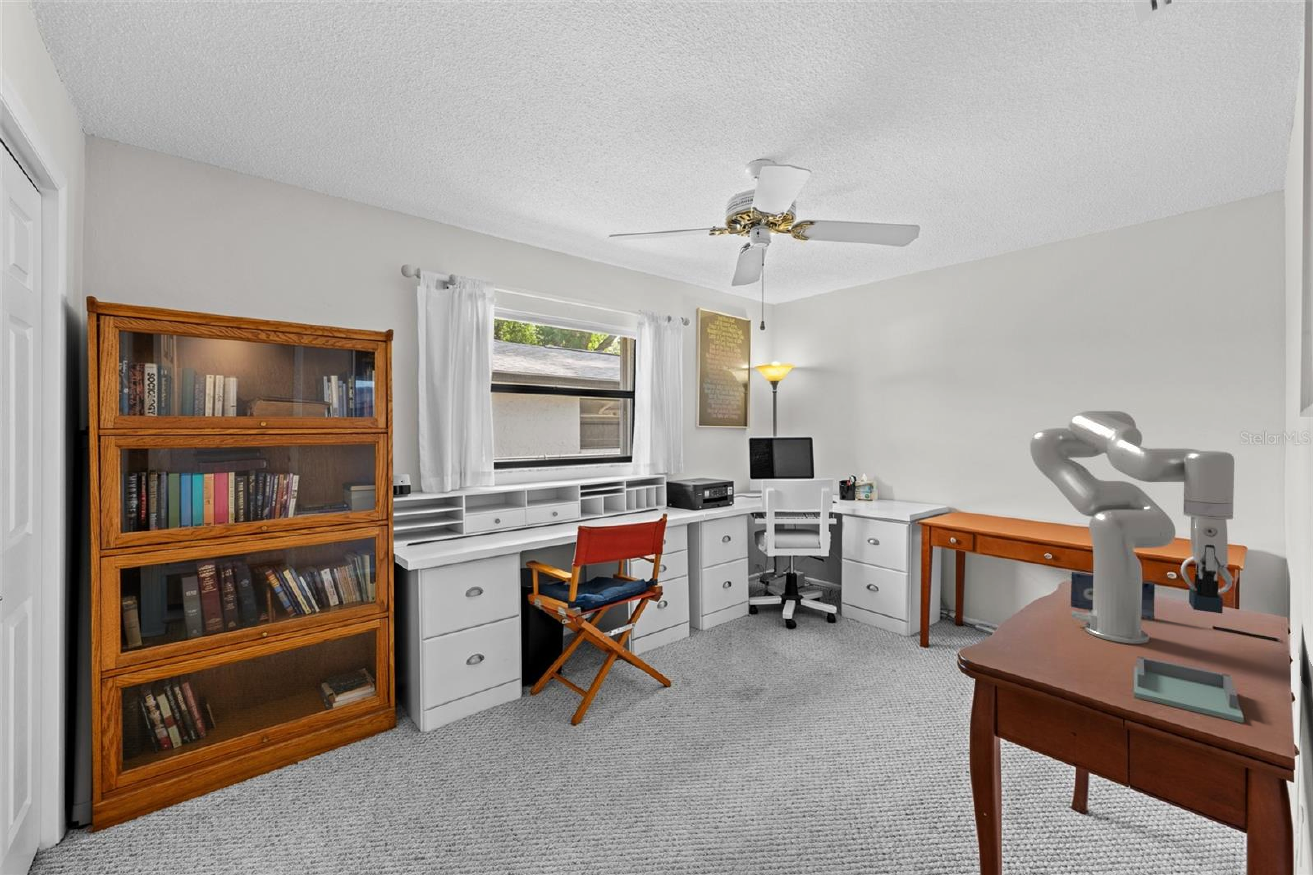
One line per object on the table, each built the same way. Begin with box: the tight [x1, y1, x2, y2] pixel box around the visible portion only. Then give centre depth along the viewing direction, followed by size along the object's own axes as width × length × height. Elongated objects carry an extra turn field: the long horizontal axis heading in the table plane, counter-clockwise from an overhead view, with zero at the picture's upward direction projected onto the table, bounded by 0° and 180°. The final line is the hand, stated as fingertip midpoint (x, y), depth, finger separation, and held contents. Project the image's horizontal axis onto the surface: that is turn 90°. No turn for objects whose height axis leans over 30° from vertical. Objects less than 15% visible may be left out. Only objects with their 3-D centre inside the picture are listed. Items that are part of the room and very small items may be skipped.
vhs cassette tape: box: [1070, 570, 1156, 621], centre depth 159 cm, size 18×3×10 cm, turn 49°
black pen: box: [1212, 625, 1284, 644], centre depth 142 cm, size 12×1×1 cm, turn 42°
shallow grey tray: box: [1133, 656, 1245, 724], centre depth 112 cm, size 15×15×4 cm
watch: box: [1180, 555, 1235, 615], centre depth 120 cm, size 6×8×11 cm
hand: (1205, 595), depth 120 cm, fingers closed on watch, 3 cm apart
